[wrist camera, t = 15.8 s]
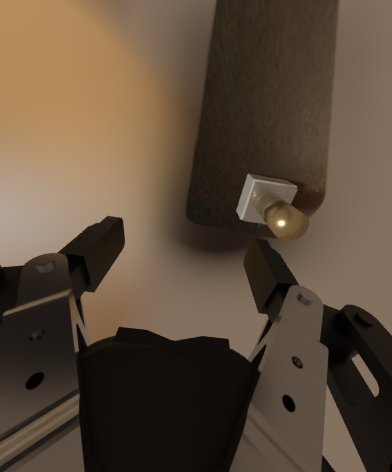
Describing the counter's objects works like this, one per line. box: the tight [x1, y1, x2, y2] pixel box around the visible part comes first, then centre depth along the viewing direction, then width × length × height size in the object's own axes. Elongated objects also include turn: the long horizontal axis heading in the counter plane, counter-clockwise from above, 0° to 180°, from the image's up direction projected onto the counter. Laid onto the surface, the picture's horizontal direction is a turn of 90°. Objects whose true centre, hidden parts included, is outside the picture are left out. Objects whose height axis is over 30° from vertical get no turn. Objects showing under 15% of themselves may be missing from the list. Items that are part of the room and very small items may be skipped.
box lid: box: [243, 181, 298, 227], centre depth 36 cm, size 10×8×4 cm
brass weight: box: [256, 193, 309, 241], centre depth 30 cm, size 5×5×10 cm
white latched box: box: [237, 174, 297, 220], centre depth 37 cm, size 9×9×5 cm
